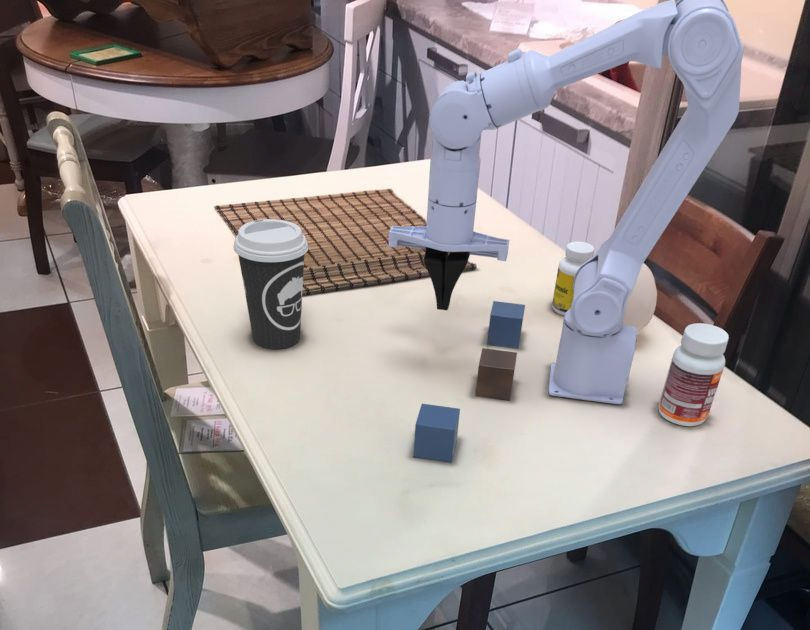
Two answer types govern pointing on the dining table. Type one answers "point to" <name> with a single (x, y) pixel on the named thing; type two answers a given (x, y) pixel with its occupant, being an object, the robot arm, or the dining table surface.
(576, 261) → the supplement bottle
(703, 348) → the pill bottle
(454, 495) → the dining table surface
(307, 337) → the dining table surface
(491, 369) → the walnut block
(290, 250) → the coffee cup
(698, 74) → the robot arm
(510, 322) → the blue block far
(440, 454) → the blue block near
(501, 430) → the dining table surface
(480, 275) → the dining table surface
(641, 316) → the egg
